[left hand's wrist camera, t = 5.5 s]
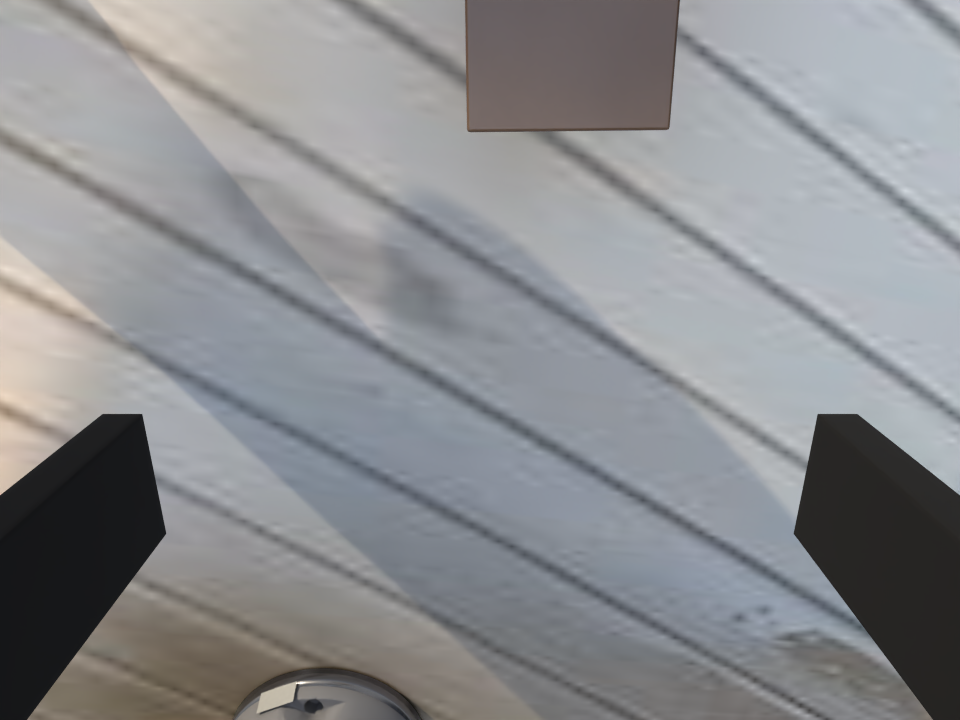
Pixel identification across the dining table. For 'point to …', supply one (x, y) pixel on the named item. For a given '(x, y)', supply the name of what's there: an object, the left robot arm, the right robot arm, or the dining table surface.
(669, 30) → the bar
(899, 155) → the dining table surface
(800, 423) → the dining table surface
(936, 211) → the dining table surface
